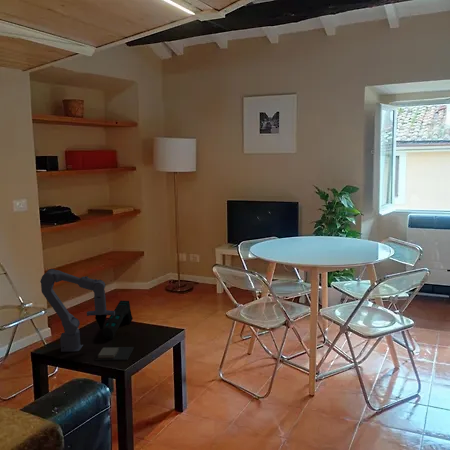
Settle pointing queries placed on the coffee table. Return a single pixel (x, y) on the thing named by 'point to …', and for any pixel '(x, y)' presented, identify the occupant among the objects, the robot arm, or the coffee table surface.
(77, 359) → the coffee table surface
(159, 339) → the coffee table surface
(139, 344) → the coffee table surface
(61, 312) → the robot arm
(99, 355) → the tile
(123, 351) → the mat
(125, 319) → the gun
